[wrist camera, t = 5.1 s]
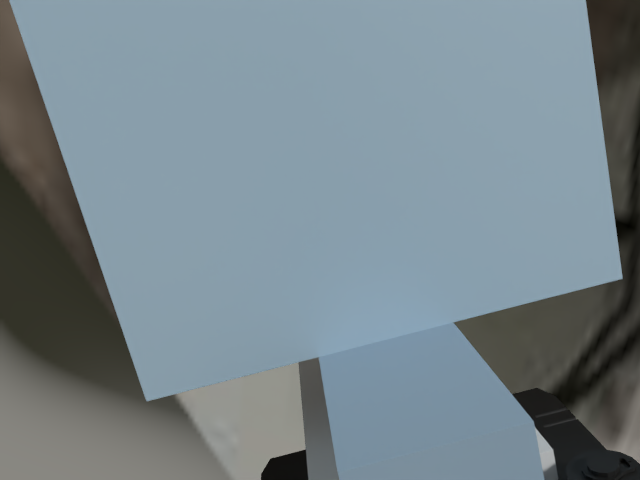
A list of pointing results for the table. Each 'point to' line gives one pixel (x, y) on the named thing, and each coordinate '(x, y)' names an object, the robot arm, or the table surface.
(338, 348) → the lid
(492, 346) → the table surface
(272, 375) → the table surface
